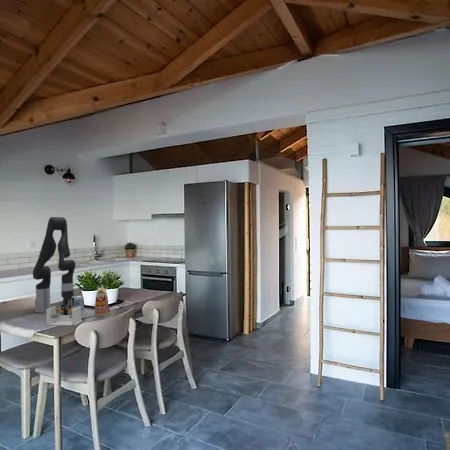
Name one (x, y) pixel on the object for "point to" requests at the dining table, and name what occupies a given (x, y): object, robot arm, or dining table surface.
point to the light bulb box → (78, 302)
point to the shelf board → (59, 311)
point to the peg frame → (63, 317)
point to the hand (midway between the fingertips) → (67, 314)
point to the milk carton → (101, 303)
